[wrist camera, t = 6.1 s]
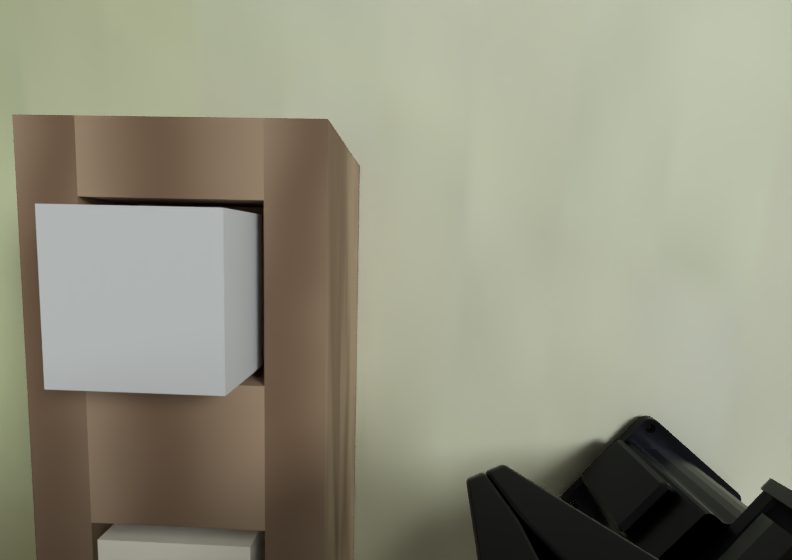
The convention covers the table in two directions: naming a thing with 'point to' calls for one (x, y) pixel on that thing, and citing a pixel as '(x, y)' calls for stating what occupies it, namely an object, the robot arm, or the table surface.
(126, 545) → the cream button
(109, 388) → the grey button
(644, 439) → the robot arm
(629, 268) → the table surface
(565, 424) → the table surface
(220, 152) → the brown rectangular box
